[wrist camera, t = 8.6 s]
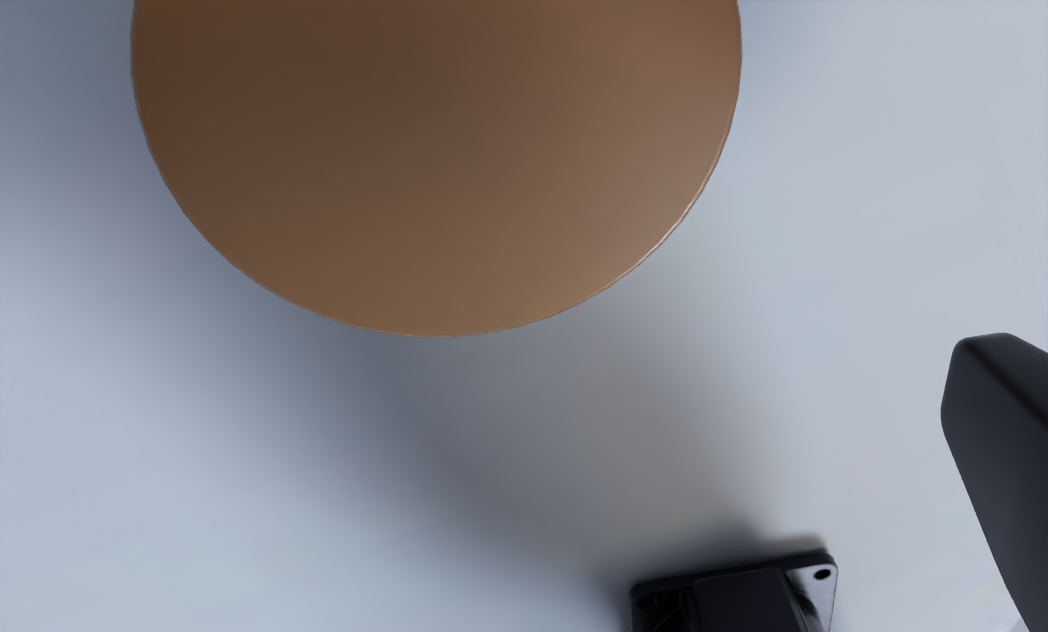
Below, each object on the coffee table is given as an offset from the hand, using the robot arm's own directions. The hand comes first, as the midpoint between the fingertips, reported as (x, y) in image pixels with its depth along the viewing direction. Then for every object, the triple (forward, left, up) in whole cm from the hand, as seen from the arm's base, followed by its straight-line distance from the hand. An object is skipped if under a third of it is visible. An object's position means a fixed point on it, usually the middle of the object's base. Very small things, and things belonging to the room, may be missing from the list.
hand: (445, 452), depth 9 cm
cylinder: (+2, 0, -5) cm, 5 cm away
